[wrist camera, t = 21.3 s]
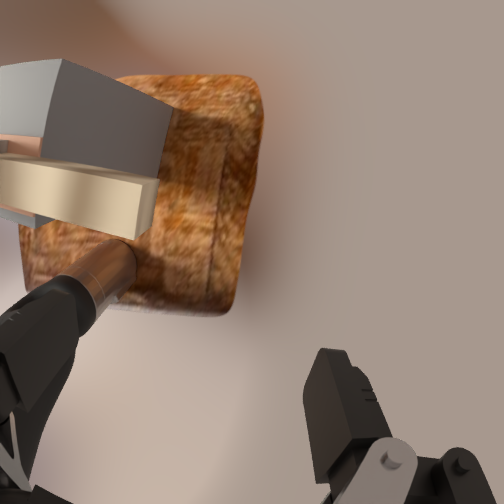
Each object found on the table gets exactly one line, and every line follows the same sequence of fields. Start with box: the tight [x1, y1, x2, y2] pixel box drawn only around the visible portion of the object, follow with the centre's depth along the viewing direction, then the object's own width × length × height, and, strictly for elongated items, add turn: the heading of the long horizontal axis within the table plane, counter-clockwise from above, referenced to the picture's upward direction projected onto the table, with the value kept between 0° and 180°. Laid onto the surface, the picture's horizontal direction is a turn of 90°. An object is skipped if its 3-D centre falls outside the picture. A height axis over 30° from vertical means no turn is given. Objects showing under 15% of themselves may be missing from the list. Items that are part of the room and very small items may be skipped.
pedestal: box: [0, 59, 174, 229], centre depth 31 cm, size 10×13×32 cm
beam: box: [0, 139, 160, 240], centre depth 14 cm, size 20×5×5 cm, turn 75°
